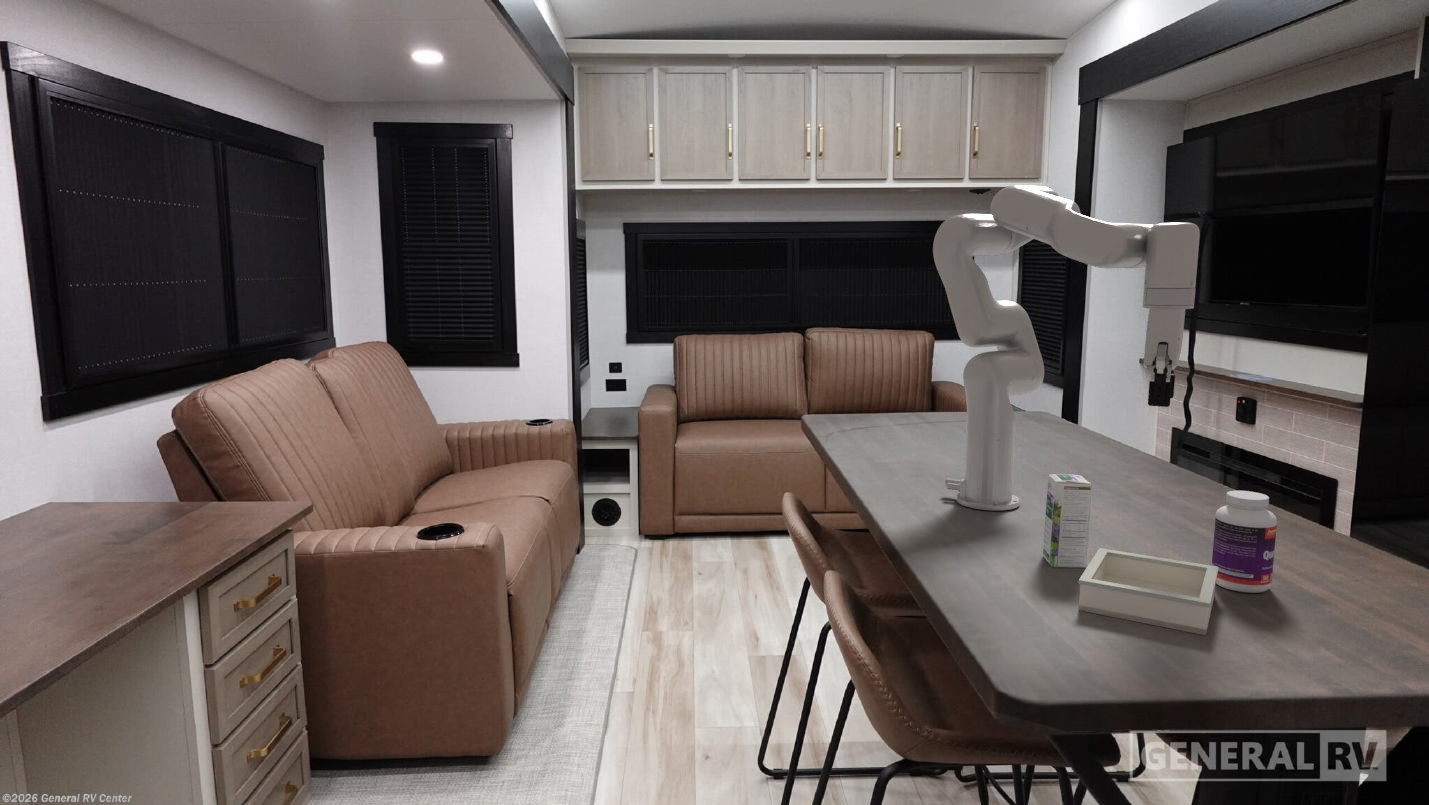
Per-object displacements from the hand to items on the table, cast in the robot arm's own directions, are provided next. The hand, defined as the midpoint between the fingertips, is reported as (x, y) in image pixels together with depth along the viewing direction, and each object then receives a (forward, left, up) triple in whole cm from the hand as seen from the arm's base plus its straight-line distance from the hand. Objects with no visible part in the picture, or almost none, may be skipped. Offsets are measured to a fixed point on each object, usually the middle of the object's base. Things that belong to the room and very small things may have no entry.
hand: (1160, 401), depth 144 cm
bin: (+3, -25, -26) cm, 37 cm away
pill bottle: (+14, -10, -26) cm, 32 cm away
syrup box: (-11, -13, -26) cm, 32 cm away
